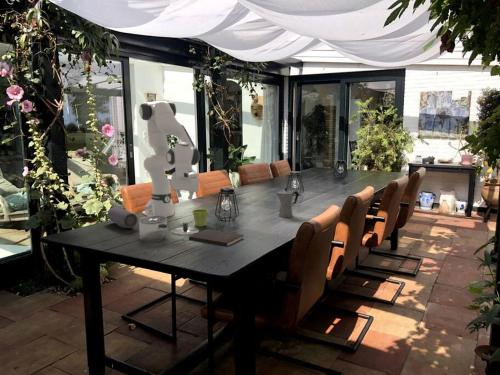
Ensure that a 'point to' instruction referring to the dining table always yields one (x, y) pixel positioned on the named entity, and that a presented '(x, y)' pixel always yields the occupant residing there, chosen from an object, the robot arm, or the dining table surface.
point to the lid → (185, 230)
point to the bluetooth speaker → (122, 217)
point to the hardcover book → (216, 237)
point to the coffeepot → (286, 202)
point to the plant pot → (200, 217)
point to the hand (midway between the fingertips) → (184, 198)
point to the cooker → (153, 228)
